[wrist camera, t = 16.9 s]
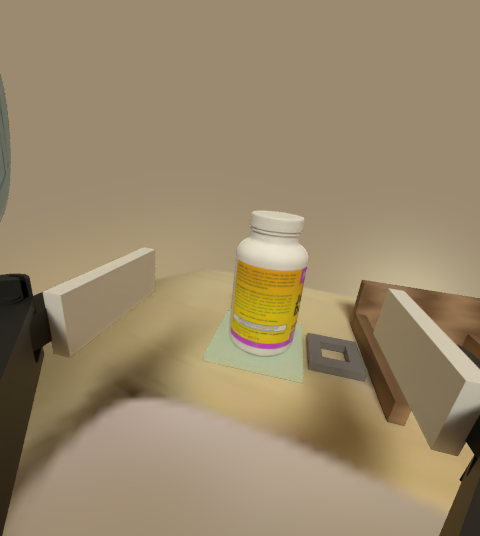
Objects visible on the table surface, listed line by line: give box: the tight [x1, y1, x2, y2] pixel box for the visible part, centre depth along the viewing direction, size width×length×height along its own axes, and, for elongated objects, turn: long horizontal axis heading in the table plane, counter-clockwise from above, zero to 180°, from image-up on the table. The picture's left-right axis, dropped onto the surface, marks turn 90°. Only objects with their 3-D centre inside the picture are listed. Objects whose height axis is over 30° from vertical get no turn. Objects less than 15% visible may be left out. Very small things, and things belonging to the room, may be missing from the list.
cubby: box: [350, 280, 480, 426], centre depth 24 cm, size 13×15×6 cm
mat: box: [203, 310, 304, 383], centre depth 27 cm, size 9×9×1 cm
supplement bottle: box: [229, 211, 308, 356], centre depth 25 cm, size 7×7×13 cm
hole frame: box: [307, 333, 367, 381], centre depth 26 cm, size 5×5×1 cm
